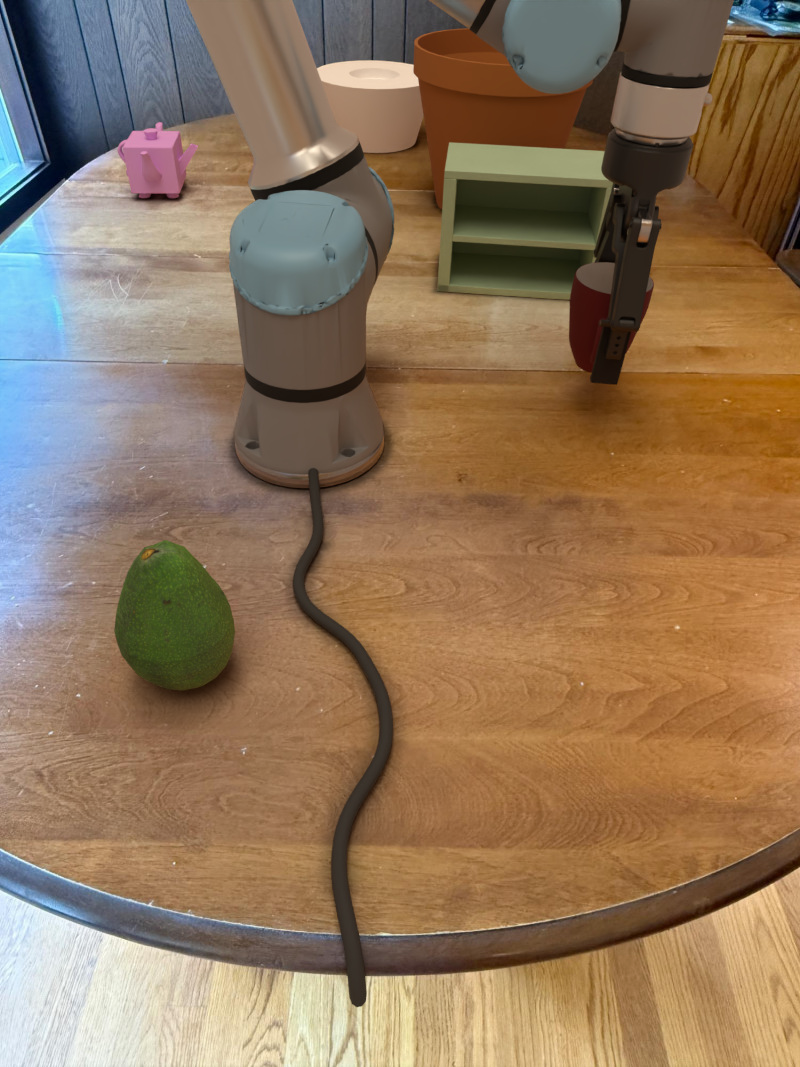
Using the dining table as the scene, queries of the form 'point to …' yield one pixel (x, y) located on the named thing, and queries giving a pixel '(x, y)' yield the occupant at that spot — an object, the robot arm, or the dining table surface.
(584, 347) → the mug
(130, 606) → the fruit
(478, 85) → the flowerpot
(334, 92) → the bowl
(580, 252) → the shelf unit
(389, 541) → the dining table surface
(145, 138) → the teapot
